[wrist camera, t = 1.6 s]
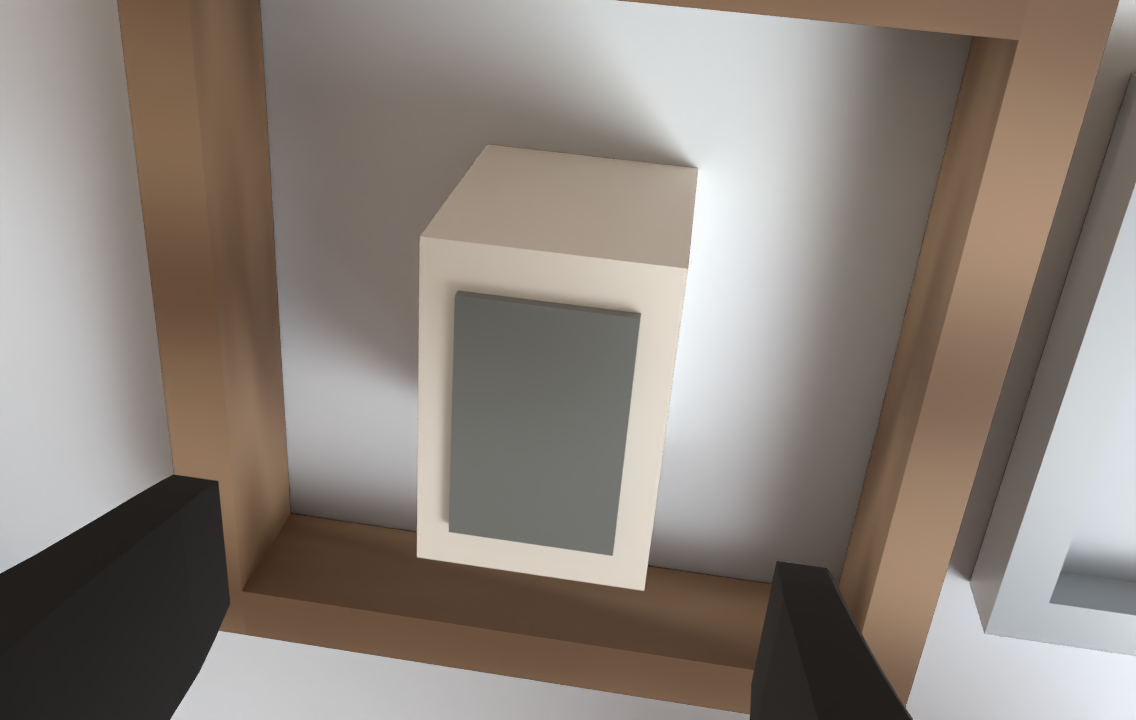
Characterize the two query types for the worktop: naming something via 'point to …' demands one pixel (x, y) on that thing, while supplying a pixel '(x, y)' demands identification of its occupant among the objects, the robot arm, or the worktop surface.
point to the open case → (671, 598)
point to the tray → (1077, 446)
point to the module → (549, 362)
